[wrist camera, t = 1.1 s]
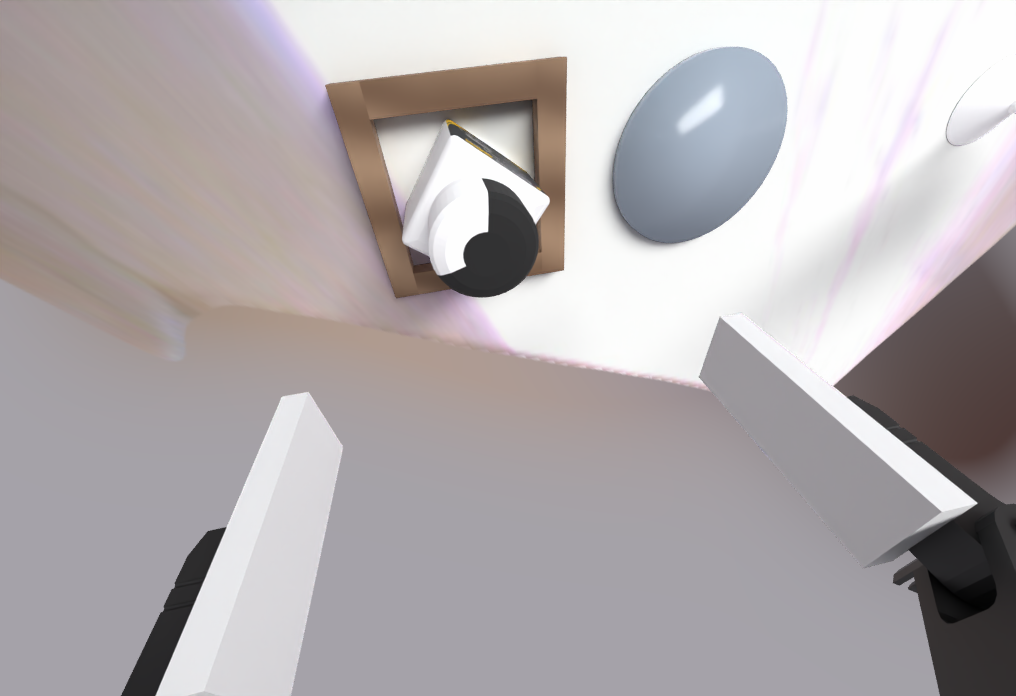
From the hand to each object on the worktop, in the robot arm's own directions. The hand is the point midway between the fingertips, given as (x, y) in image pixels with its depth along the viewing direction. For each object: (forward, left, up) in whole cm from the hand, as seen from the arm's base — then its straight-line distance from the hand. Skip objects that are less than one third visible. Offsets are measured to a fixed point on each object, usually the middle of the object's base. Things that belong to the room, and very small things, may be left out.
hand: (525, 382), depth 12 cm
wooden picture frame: (0, 0, -22) cm, 22 cm away
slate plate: (0, +19, -22) cm, 29 cm away
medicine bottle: (0, 0, -22) cm, 22 cm away
